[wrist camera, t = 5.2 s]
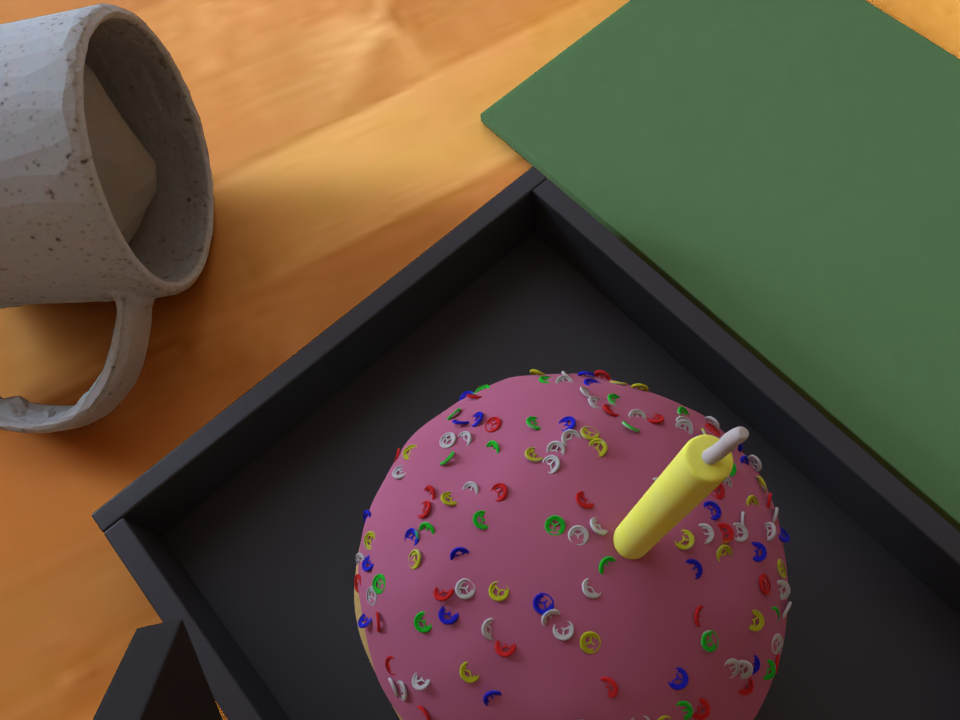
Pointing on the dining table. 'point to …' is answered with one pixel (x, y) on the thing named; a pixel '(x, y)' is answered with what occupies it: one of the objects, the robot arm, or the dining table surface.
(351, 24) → the dining table surface
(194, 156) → the ceramic mug
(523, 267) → the baking pan
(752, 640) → the cupcake
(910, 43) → the green cloth
